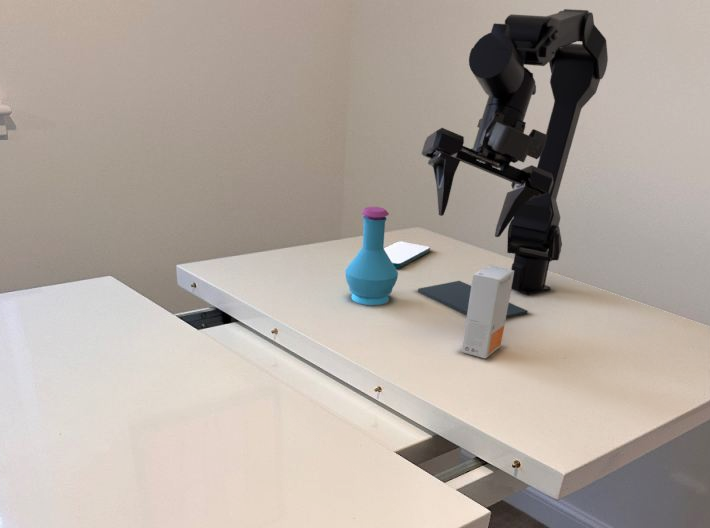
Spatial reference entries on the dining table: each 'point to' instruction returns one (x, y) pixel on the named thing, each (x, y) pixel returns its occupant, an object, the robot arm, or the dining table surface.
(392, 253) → the smartphone
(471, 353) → the cosmetic box
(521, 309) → the side mat
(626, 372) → the dining table surface
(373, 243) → the perfume bottle
